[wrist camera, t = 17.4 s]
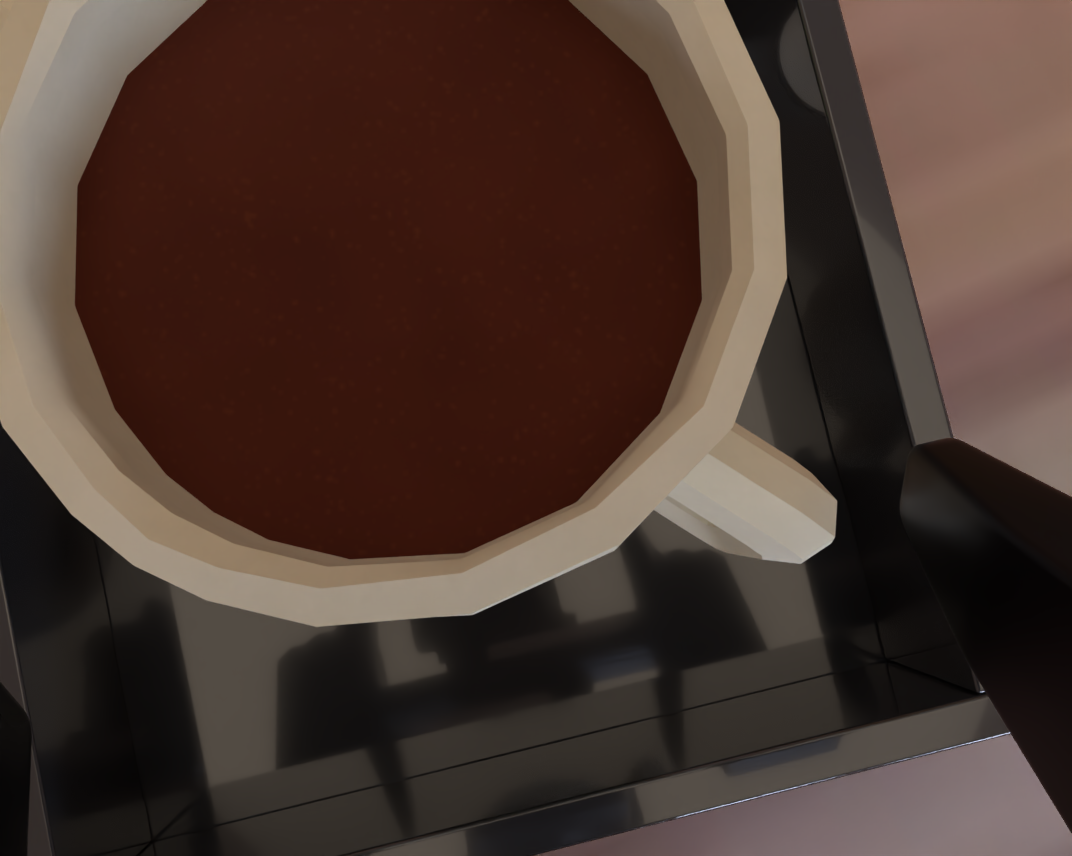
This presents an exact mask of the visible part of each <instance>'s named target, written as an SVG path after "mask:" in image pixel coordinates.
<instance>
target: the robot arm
mask: <svg viewBox="0 0 1072 856" xmlns="http://www.w3.org/2000/svg"><path fill="white" fill-rule="evenodd" d="M900 515H901V520H902V523H903V526H904V528H905V530H906V533H907V535H908V537H909V539H910V541H911V543H912V546H913V548H914V550H915V552H916V554H917V556H918V558H919V561H920V563H921V565H922V567H923V569H924V571H925V574H926V576H927V578H928V580H929V582H930V584H931V587H932V589H933V591H934V593H935V595H936V597H937V599H938V602H939V604H940V606H941V608H942V610H943V612H944V615H945V617H946V619H947V621H948V623H949V625H950V627H951V630H952V632H953V634H954V636H955V638H956V640H957V642H958V644H959V646H960V648H961V650H962V652H963V654H964V656H965V658H966V660H967V661H968V663H969V665H970V667H971V668H972V670H973V672H974V674H975V675H976V677H977V679H978V681H979V682H980V684H981V685H982V687H983V689H984V690H985V692H986V694H987V695H988V697H989V699H990V700H991V702H992V704H993V705H994V707H995V708H996V710H997V712H998V713H999V715H1000V717H1001V718H1002V720H1003V722H1004V723H1005V725H1006V727H1007V728H1008V730H1009V731H1010V733H1011V735H1012V736H1013V738H1014V740H1015V741H1016V743H1017V745H1018V746H1019V748H1020V749H1021V751H1022V753H1023V754H1024V756H1025V758H1026V759H1027V761H1028V763H1029V764H1030V766H1031V768H1032V769H1033V771H1034V772H1035V774H1036V776H1037V777H1038V779H1039V781H1040V782H1041V784H1042V786H1043V787H1044V789H1045V791H1046V792H1047V794H1048V795H1049V797H1050V799H1051V800H1052V802H1053V804H1054V805H1055V807H1056V809H1057V810H1058V812H1059V814H1060V815H1061V817H1062V818H1063V820H1064V822H1065V823H1066V825H1067V827H1068V828H1069V830H1070V832H1071V833H1072V497H1071V496H1069V495H1067V494H1065V493H1063V492H1061V491H1059V490H1057V489H1055V488H1053V487H1051V486H1049V485H1047V484H1045V483H1043V482H1041V481H1039V480H1037V479H1035V478H1033V477H1031V476H1030V475H1028V474H1026V473H1024V472H1022V471H1020V470H1018V469H1016V468H1014V467H1012V466H1010V465H1008V464H1006V463H1004V462H1002V461H1000V460H998V459H996V458H994V457H992V456H990V455H988V454H986V453H985V452H983V451H981V450H979V449H977V448H975V447H973V446H971V445H969V444H967V443H965V442H963V441H961V440H958V439H955V438H944V439H940V440H935V441H931V442H927V443H923V444H918V445H916V446H914V447H913V448H912V449H911V451H910V452H909V454H908V458H907V463H906V469H905V474H904V480H903V486H902V492H901V497H900ZM31 747H32V731H31V725H30V721H29V718H28V716H27V714H26V712H25V710H24V709H23V708H22V706H21V705H20V704H19V703H18V702H17V701H16V699H15V698H14V697H13V696H12V695H11V694H10V692H9V691H8V690H7V689H6V688H5V686H4V685H3V684H2V683H1V682H0V856H27V852H28V826H29V800H30V774H31Z"/></svg>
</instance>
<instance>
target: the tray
mask: <svg viewBox="0 0 1072 856" xmlns="http://www.w3.org/2000/svg"><path fill="white" fill-rule="evenodd" d="M724 1H725V4H726V6H727V8H728V10H729V12H730V15H731V17H732V19H733V21H734V23H735V25H736V28H737V30H738V32H739V34H740V36H741V38H742V41H743V43H744V45H745V47H746V49H747V51H748V54H749V56H750V58H751V60H752V62H753V64H754V67H755V69H756V71H757V73H758V75H759V77H760V80H761V82H762V84H763V86H764V88H765V91H766V93H767V95H768V97H769V99H770V101H771V104H772V106H773V108H774V110H775V112H776V114H777V117H778V119H779V121H780V142H781V162H782V183H783V203H784V224H785V244H786V265H787V279H786V282H785V285H784V288H783V290H782V293H781V296H780V299H779V301H778V304H777V307H776V310H775V313H774V315H773V318H772V321H771V324H770V326H769V329H768V332H767V335H766V337H765V340H764V343H763V346H762V349H761V351H760V354H759V357H758V360H757V362H756V365H755V368H754V371H753V373H752V376H751V379H750V382H749V385H748V387H747V390H746V393H745V396H744V398H743V401H742V404H741V407H740V409H739V412H738V415H737V418H736V421H735V423H737V424H738V425H740V426H742V427H743V428H745V429H746V430H748V431H749V432H751V433H753V434H754V435H756V436H757V437H759V438H761V439H762V440H764V441H765V442H767V443H768V444H770V445H772V446H773V447H775V448H776V449H778V450H779V451H781V452H783V453H784V454H786V455H787V456H789V457H791V458H792V459H794V460H795V461H796V462H798V463H799V464H800V465H802V466H803V467H804V468H806V469H807V470H808V471H810V472H811V473H812V474H813V475H814V476H815V477H816V478H817V479H818V480H819V481H820V483H821V484H822V485H823V486H824V487H825V488H826V489H827V490H828V491H829V492H830V493H831V495H832V496H833V497H834V498H835V499H836V500H837V514H836V530H835V538H834V540H833V541H832V543H831V544H830V545H828V546H827V547H825V548H824V549H822V550H821V551H819V552H818V553H816V554H815V555H813V556H812V557H810V558H809V559H807V560H806V561H804V562H803V563H801V564H797V563H788V562H780V561H771V560H762V559H757V558H752V557H746V556H741V555H735V554H730V553H726V552H723V551H721V550H718V549H716V548H714V547H712V546H711V545H709V544H707V543H706V542H704V541H702V540H701V539H699V538H697V537H695V536H694V535H692V534H691V533H689V532H688V531H686V530H684V529H683V528H681V527H680V526H678V525H677V524H675V523H673V522H672V521H670V520H669V519H667V518H666V517H664V516H662V515H661V514H659V513H658V512H656V511H654V510H653V511H652V512H651V513H650V514H649V515H648V516H647V517H646V518H645V519H644V520H643V521H642V522H641V524H640V525H639V526H638V527H637V528H636V529H635V530H634V531H633V532H632V533H631V534H630V535H629V536H628V537H627V538H626V539H625V540H624V541H623V542H622V543H621V544H620V545H619V546H618V547H617V549H616V550H615V551H613V552H611V553H608V554H606V555H604V556H602V557H600V558H597V559H595V560H593V561H591V562H588V563H586V564H584V565H582V566H580V567H577V568H575V569H573V570H571V571H569V572H566V573H564V574H562V575H560V576H558V577H555V578H553V579H551V580H549V581H547V582H544V583H542V584H540V585H538V586H536V587H533V588H531V589H529V590H527V591H525V592H522V593H520V594H518V595H516V596H514V597H511V598H509V599H507V600H505V601H503V602H500V603H498V604H496V605H494V606H492V607H489V608H487V609H485V610H483V611H481V612H478V613H476V614H474V615H465V616H444V617H428V618H416V619H404V620H392V621H380V622H368V623H357V624H345V625H333V626H321V627H315V626H311V625H306V624H302V623H298V622H294V621H290V620H286V619H282V618H277V617H273V616H269V615H265V614H261V613H257V612H252V611H248V610H244V609H240V608H236V607H232V606H227V605H223V604H219V603H215V602H211V601H207V600H204V599H202V598H200V597H198V596H196V595H194V594H192V593H190V592H188V591H186V590H184V589H182V588H179V587H177V586H175V585H173V584H171V583H169V582H167V581H165V580H163V579H161V578H159V577H157V576H154V575H152V574H150V573H148V572H146V571H144V570H142V569H140V568H138V567H136V566H134V565H132V564H131V563H130V562H129V561H127V560H126V559H125V558H124V557H123V556H121V555H120V554H119V553H118V552H116V551H115V550H114V549H113V548H112V547H110V546H109V545H108V544H107V543H106V542H104V541H103V540H102V539H101V538H99V537H98V536H97V535H96V534H95V533H93V532H92V531H91V530H90V529H89V528H87V527H86V526H85V525H84V524H82V523H81V522H80V521H79V520H78V519H76V518H75V517H74V516H73V515H71V513H70V512H69V511H68V510H67V508H66V507H65V506H64V504H63V503H62V502H61V501H60V499H59V498H58V497H57V496H56V494H55V493H54V492H53V491H52V489H51V488H50V487H49V485H48V484H47V483H46V482H45V480H44V479H43V478H42V477H41V475H40V474H39V473H38V471H37V470H36V469H35V468H34V466H33V465H32V464H31V463H30V461H29V460H28V459H27V457H26V456H25V455H24V454H23V452H22V451H21V450H20V449H19V447H18V446H17V445H16V443H15V442H14V441H13V440H12V438H11V437H10V436H9V435H8V433H7V432H6V431H5V429H4V428H3V427H2V424H1V421H0V682H1V683H2V684H3V685H4V686H5V688H6V689H7V690H8V691H9V692H10V694H11V695H12V696H13V697H14V698H15V699H16V701H17V702H18V703H19V704H20V705H21V706H22V708H23V709H24V710H25V712H26V714H27V716H28V718H29V721H30V725H31V731H32V747H31V774H30V800H29V826H28V852H27V856H534V855H537V854H541V853H545V852H549V851H553V850H557V849H561V848H565V847H569V846H573V845H577V844H581V843H585V842H589V841H592V840H596V839H600V838H604V837H608V836H612V835H616V834H620V833H624V832H628V831H632V830H636V829H640V828H643V827H647V826H651V825H655V824H659V823H663V822H667V821H671V820H675V819H679V818H683V817H687V816H691V815H694V814H698V813H702V812H706V811H710V810H714V809H718V808H722V807H726V806H730V805H734V804H738V803H742V802H746V801H749V800H753V799H757V798H761V797H765V796H769V795H773V794H777V793H781V792H785V791H789V790H793V789H797V788H800V787H804V786H808V785H812V784H816V783H820V782H824V781H828V780H832V779H836V778H840V777H844V776H848V775H851V774H855V773H859V772H863V771H867V770H871V769H875V768H879V767H883V766H887V765H891V764H895V763H899V762H903V761H906V760H910V759H914V758H918V757H922V756H926V755H930V754H934V753H938V752H942V751H946V750H950V749H954V748H957V747H961V746H965V745H969V744H973V743H977V742H981V741H985V740H989V739H993V738H997V737H1001V736H1005V735H1008V734H1011V733H1010V731H1009V730H1008V728H1007V727H1006V725H1005V723H1004V722H1003V720H1002V718H1001V717H1000V715H999V713H998V712H997V710H996V708H995V707H994V705H993V704H992V702H991V700H990V699H989V697H988V695H987V694H986V692H985V690H984V689H983V687H982V685H981V684H980V682H979V681H978V679H977V677H976V675H975V674H974V672H973V670H972V668H971V667H970V665H969V663H968V661H967V660H966V658H965V656H964V654H963V652H962V650H961V648H960V646H959V644H958V642H957V640H956V638H955V636H954V634H953V632H952V630H951V627H950V625H949V623H948V621H947V619H946V617H945V615H944V612H943V610H942V608H941V606H940V604H939V602H938V599H937V597H936V595H935V593H934V591H933V589H932V587H931V584H930V582H929V580H928V578H927V576H926V574H925V571H924V569H923V567H922V565H921V563H920V561H919V558H918V556H917V554H916V552H915V550H914V548H913V546H912V543H911V541H910V539H909V537H908V535H907V533H906V530H905V528H904V526H903V523H902V520H901V515H900V497H901V492H902V486H903V480H904V474H905V469H906V463H907V458H908V454H909V452H910V451H911V449H912V448H913V447H914V446H916V445H918V444H923V443H927V442H931V441H935V440H940V439H944V438H953V434H952V430H951V427H950V423H949V419H948V415H947V411H946V408H945V404H944V400H943V396H942V392H941V389H940V385H939V381H938V377H937V373H936V370H935V366H934V362H933V358H932V354H931V351H930V347H929V343H928V339H927V335H926V332H925V328H924V324H923V320H922V316H921V313H920V309H919V305H918V301H917V297H916V294H915V290H914V286H913V282H912V278H911V275H910V271H909V267H908V263H907V259H906V255H905V252H904V248H903V244H902V240H901V236H900V233H899V229H898V225H897V221H896V217H895V214H894V210H893V206H892V202H891V198H890V195H889V191H888V187H887V183H886V179H885V176H884V172H883V168H882V164H881V160H880V157H879V153H878V149H877V145H876V141H875V138H874V134H873V130H872V126H871V122H870V119H869V115H868V111H867V107H866V103H865V100H864V96H863V92H862V88H861V84H860V81H859V77H858V73H857V69H856V65H855V62H854V58H853V54H852V50H851V46H850V43H849V39H848V35H847V31H846V27H845V24H844V20H843V16H842V12H841V8H840V5H839V1H838V0H724Z"/></svg>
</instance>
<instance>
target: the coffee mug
mask: <svg viewBox="0 0 1072 856" xmlns="http://www.w3.org/2000/svg"><path fill="white" fill-rule="evenodd" d="M786 279H787V265H786V244H785V224H784V203H783V183H782V162H781V142H780V121H779V119H778V117H777V114H776V112H775V110H774V108H773V106H772V104H771V101H770V99H769V97H768V95H767V93H766V91H765V88H764V86H763V84H762V82H761V80H760V77H759V75H758V73H757V71H756V69H755V67H754V64H753V62H752V60H751V58H750V56H749V54H748V51H747V49H746V47H745V45H744V43H743V41H742V38H741V36H740V34H739V32H738V30H737V28H736V25H735V23H734V21H733V19H732V17H731V15H730V12H729V10H728V8H727V6H726V4H725V1H724V0H0V421H1V424H2V427H3V428H4V429H5V431H6V432H7V433H8V435H9V436H10V437H11V438H12V440H13V441H14V442H15V443H16V445H17V446H18V447H19V449H20V450H21V451H22V452H23V454H24V455H25V456H26V457H27V459H28V460H29V461H30V463H31V464H32V465H33V466H34V468H35V469H36V470H37V471H38V473H39V474H40V475H41V477H42V478H43V479H44V480H45V482H46V483H47V484H48V485H49V487H50V488H51V489H52V491H53V492H54V493H55V494H56V496H57V497H58V498H59V499H60V501H61V502H62V503H63V504H64V506H65V507H66V508H67V510H68V511H69V512H70V513H71V515H73V516H74V517H75V518H76V519H78V520H79V521H80V522H81V523H82V524H84V525H85V526H86V527H87V528H89V529H90V530H91V531H92V532H93V533H95V534H96V535H97V536H98V537H99V538H101V539H102V540H103V541H104V542H106V543H107V544H108V545H109V546H110V547H112V548H113V549H114V550H115V551H116V552H118V553H119V554H120V555H121V556H123V557H124V558H125V559H126V560H127V561H129V562H130V563H131V564H132V565H134V566H136V567H138V568H140V569H142V570H144V571H146V572H148V573H150V574H152V575H154V576H157V577H159V578H161V579H163V580H165V581H167V582H169V583H171V584H173V585H175V586H177V587H179V588H182V589H184V590H186V591H188V592H190V593H192V594H194V595H196V596H198V597H200V598H202V599H204V600H207V601H211V602H215V603H219V604H223V605H227V606H232V607H236V608H240V609H244V610H248V611H252V612H257V613H261V614H265V615H269V616H273V617H277V618H282V619H286V620H290V621H294V622H298V623H302V624H306V625H311V626H315V627H321V626H333V625H345V624H357V623H368V622H380V621H392V620H404V619H416V618H428V617H444V616H465V615H474V614H476V613H478V612H481V611H483V610H485V609H487V608H489V607H492V606H494V605H496V604H498V603H500V602H503V601H505V600H507V599H509V598H511V597H514V596H516V595H518V594H520V593H522V592H525V591H527V590H529V589H531V588H533V587H536V586H538V585H540V584H542V583H544V582H547V581H549V580H551V579H553V578H555V577H558V576H560V575H562V574H564V573H566V572H569V571H571V570H573V569H575V568H577V567H580V566H582V565H584V564H586V563H588V562H591V561H593V560H595V559H597V558H600V557H602V556H604V555H606V554H608V553H611V552H613V551H615V550H616V549H617V547H618V546H619V545H620V544H621V543H622V542H623V541H624V540H625V539H626V538H627V537H628V536H629V535H630V534H631V533H632V532H633V531H634V530H635V529H636V528H637V527H638V526H639V525H640V524H641V522H642V521H643V520H644V519H645V518H646V517H647V516H648V515H649V514H650V513H651V512H652V511H653V510H654V511H656V512H658V513H659V514H661V515H662V516H664V517H666V518H667V519H669V520H670V521H672V522H673V523H675V524H677V525H678V526H680V527H681V528H683V529H684V530H686V531H688V532H689V533H691V534H692V535H694V536H695V537H697V538H699V539H701V540H702V541H704V542H706V543H707V544H709V545H711V546H712V547H714V548H716V549H718V550H721V551H723V552H726V553H730V554H735V555H741V556H746V557H752V558H757V559H762V560H771V561H780V562H788V563H797V564H801V563H803V562H804V561H806V560H807V559H809V558H810V557H812V556H813V555H815V554H816V553H818V552H819V551H821V550H822V549H824V548H825V547H827V546H828V545H830V544H831V543H832V541H833V540H834V538H835V530H836V514H837V500H836V499H835V498H834V497H833V496H832V495H831V493H830V492H829V491H828V490H827V489H826V488H825V487H824V486H823V485H822V484H821V483H820V481H819V480H818V479H817V478H816V477H815V476H814V475H813V474H812V473H811V472H810V471H808V470H807V469H806V468H804V467H803V466H802V465H800V464H799V463H798V462H796V461H795V460H794V459H792V458H791V457H789V456H787V455H786V454H784V453H783V452H781V451H779V450H778V449H776V448H775V447H773V446H772V445H770V444H768V443H767V442H765V441H764V440H762V439H761V438H759V437H757V436H756V435H754V434H753V433H751V432H749V431H748V430H746V429H745V428H743V427H742V426H740V425H738V424H737V423H735V421H736V418H737V415H738V412H739V409H740V407H741V404H742V401H743V398H744V396H745V393H746V390H747V387H748V385H749V382H750V379H751V376H752V373H753V371H754V368H755V365H756V362H757V360H758V357H759V354H760V351H761V349H762V346H763V343H764V340H765V337H766V335H767V332H768V329H769V326H770V324H771V321H772V318H773V315H774V313H775V310H776V307H777V304H778V301H779V299H780V296H781V293H782V290H783V288H784V285H785V282H786Z"/></svg>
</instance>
